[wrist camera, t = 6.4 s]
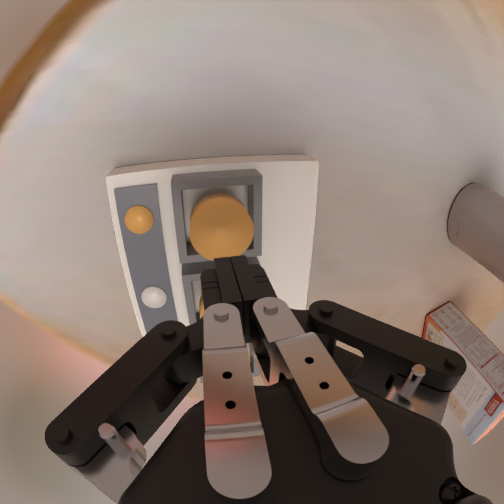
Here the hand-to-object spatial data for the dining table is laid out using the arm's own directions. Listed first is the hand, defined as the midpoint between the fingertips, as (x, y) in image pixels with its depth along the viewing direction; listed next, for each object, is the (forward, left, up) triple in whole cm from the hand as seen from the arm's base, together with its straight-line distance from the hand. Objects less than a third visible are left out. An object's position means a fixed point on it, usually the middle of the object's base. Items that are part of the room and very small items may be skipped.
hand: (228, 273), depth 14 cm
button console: (0, +7, -12) cm, 14 cm away
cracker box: (-35, +25, -12) cm, 45 cm away
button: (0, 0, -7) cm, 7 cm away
